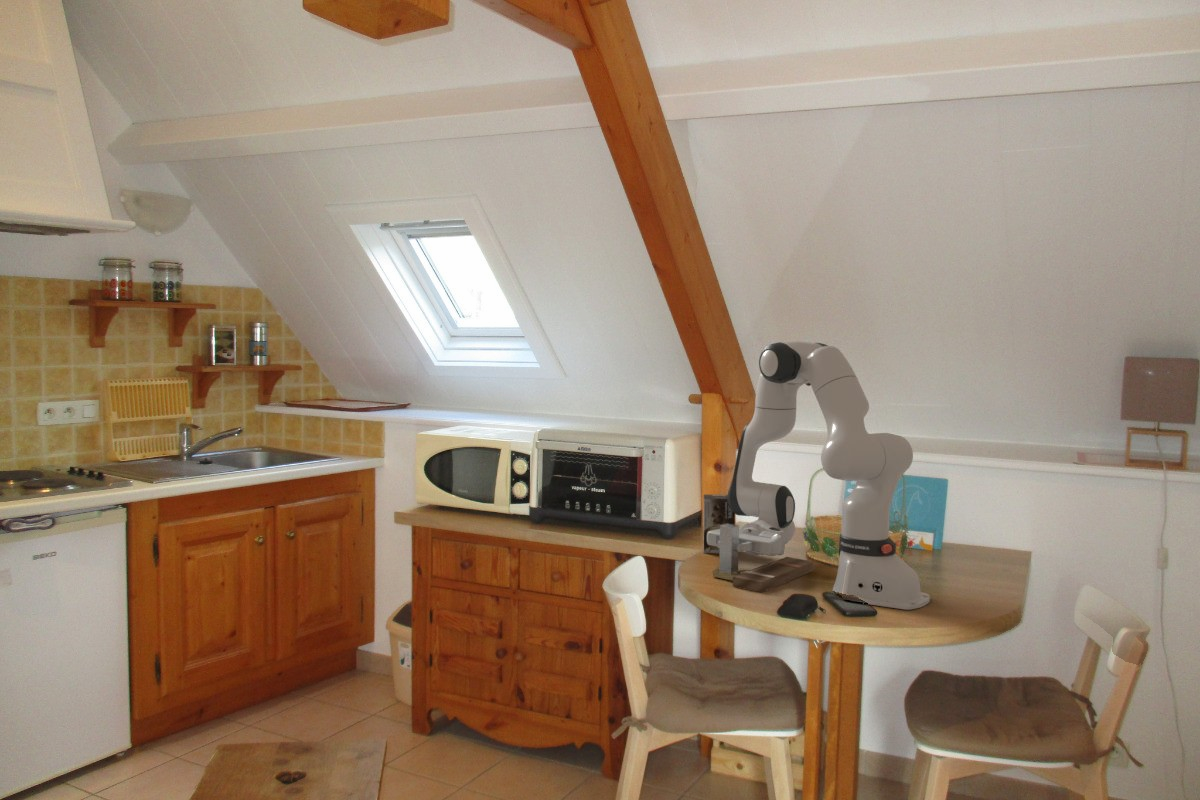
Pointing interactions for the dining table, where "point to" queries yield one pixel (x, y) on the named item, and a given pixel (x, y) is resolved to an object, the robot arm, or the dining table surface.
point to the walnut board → (773, 574)
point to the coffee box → (715, 518)
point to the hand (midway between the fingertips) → (728, 546)
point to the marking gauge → (728, 552)
